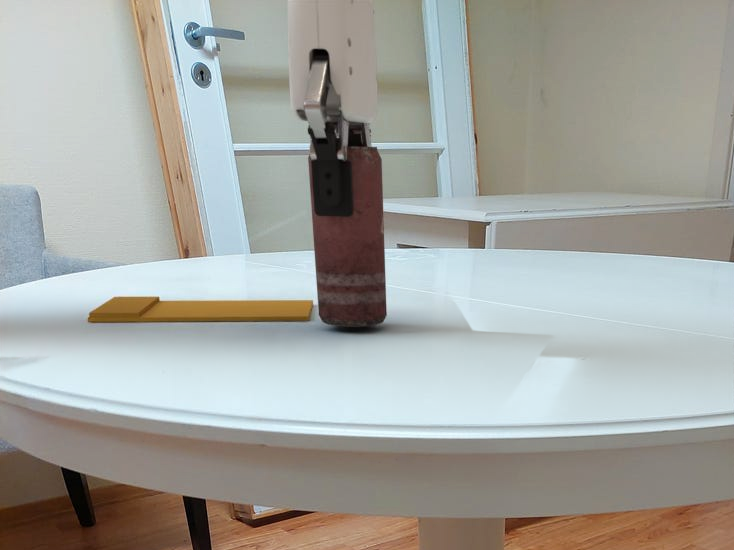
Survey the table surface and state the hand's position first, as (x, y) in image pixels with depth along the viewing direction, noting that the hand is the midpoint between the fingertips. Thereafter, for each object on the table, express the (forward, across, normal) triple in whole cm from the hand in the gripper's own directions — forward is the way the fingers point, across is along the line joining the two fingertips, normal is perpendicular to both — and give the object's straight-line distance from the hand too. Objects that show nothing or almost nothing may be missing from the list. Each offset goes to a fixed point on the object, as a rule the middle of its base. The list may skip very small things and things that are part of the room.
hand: (345, 211), depth 76 cm
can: (+9, 0, 0) cm, 9 cm away
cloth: (+10, -5, -16) cm, 19 cm away
